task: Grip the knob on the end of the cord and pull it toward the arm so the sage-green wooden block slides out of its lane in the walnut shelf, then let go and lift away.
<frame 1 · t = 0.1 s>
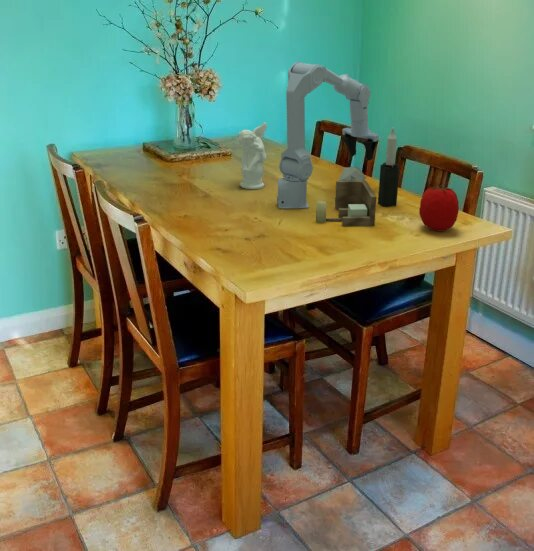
hand: (361, 157, 239), 11 cm above the table, tool pointing down, fingers open, 7 cm apart
cherub figurine: (250, 185, 245), on the table
black and grey rod: (387, 205, 225), on the table
pull block: (356, 221, 210), on the table
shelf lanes: (351, 216, 213), on the table
red apple: (437, 229, 203), on the table
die: (351, 190, 240), on the table
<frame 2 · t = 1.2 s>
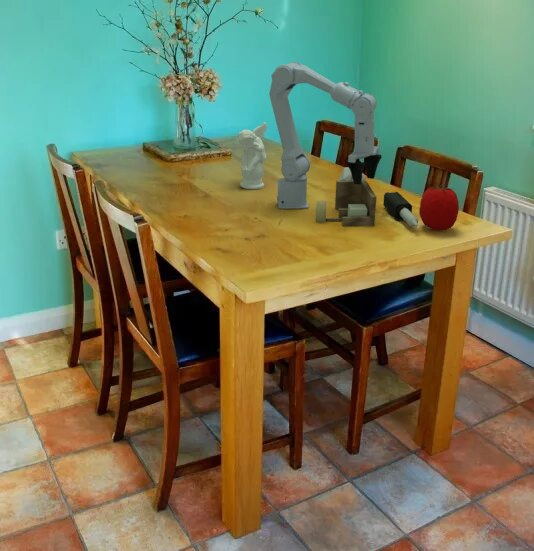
hand: (364, 181, 211), 11 cm above the table, tool pointing down, fingers open, 7 cm apart
black and grey rod: (391, 199, 221), point 3 cm above the table
everything else where it was.
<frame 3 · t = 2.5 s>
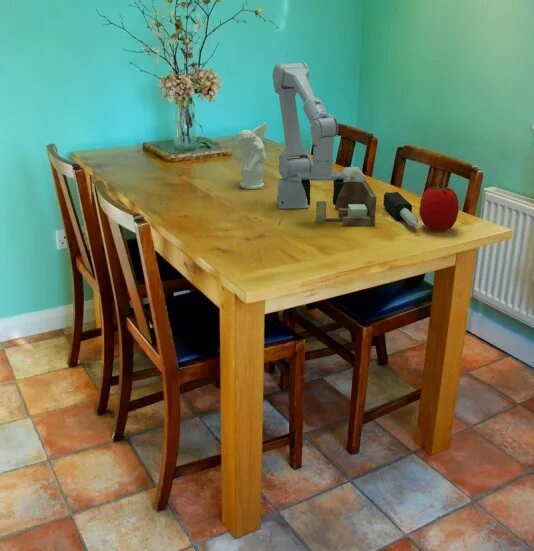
hand: (321, 204, 207), 5 cm above the table, tool pointing down, fingers open, 7 cm apart
nothing on the table moved.
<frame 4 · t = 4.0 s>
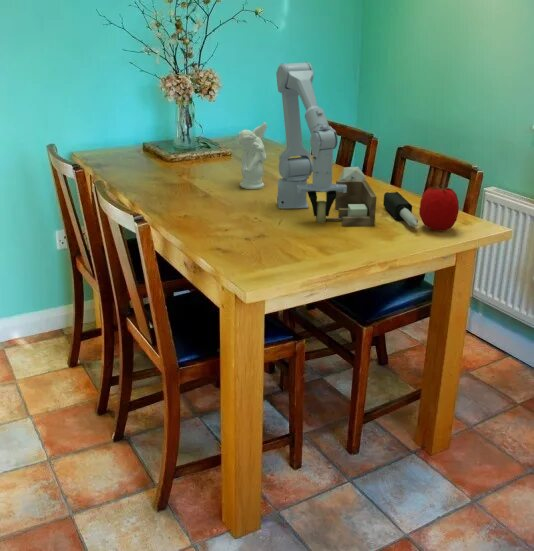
hand: (320, 215, 208), 2 cm above the table, tool pointing down, fingers closed on pull block, 3 cm apart
pull block: (356, 220, 210), on the table, touching gripper
everything else where it was.
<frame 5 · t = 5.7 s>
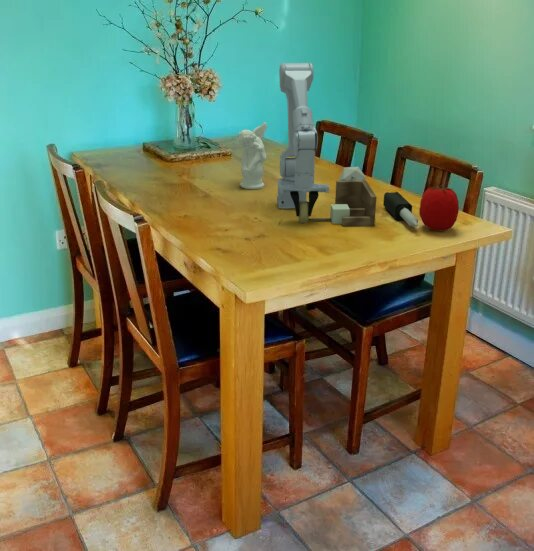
hand: (303, 215, 208), 2 cm above the table, tool pointing down, fingers closed on pull block, 3 cm apart
pull block: (339, 221, 209), on the table, touching gripper
everything else where it was.
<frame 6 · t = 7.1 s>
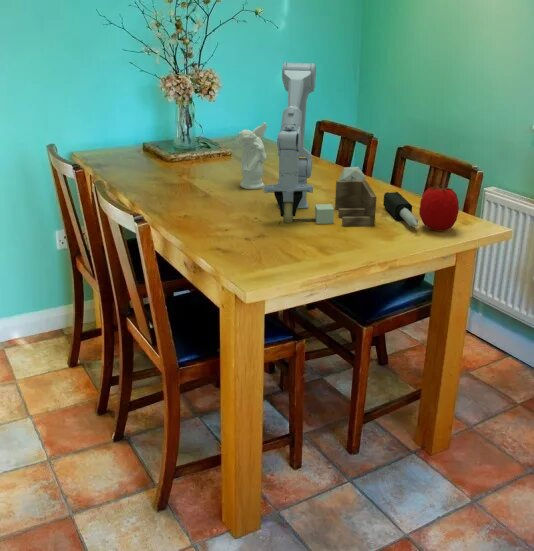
hand: (287, 215, 208), 2 cm above the table, tool pointing down, fingers closed on pull block, 3 cm apart
pull block: (324, 221, 209), on the table, touching gripper
everything else where it was.
when the fingers open (2 cm above the table, at t = 7.7 s): pull block stays where it is, on the table.
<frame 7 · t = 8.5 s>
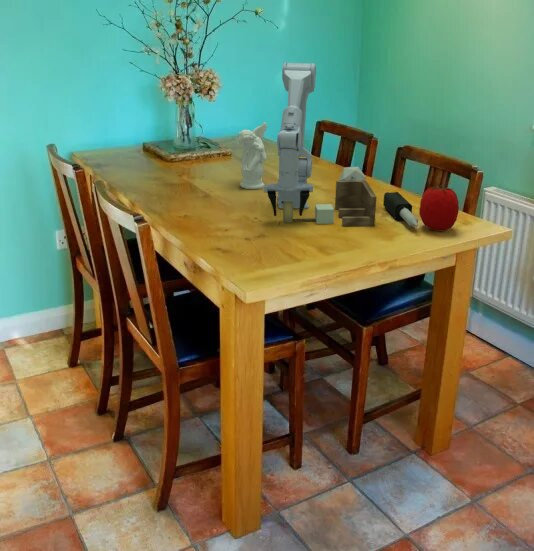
hand: (287, 214, 208), 2 cm above the table, tool pointing down, fingers open, 7 cm apart
pull block: (324, 221, 209), on the table
everything else where it was.
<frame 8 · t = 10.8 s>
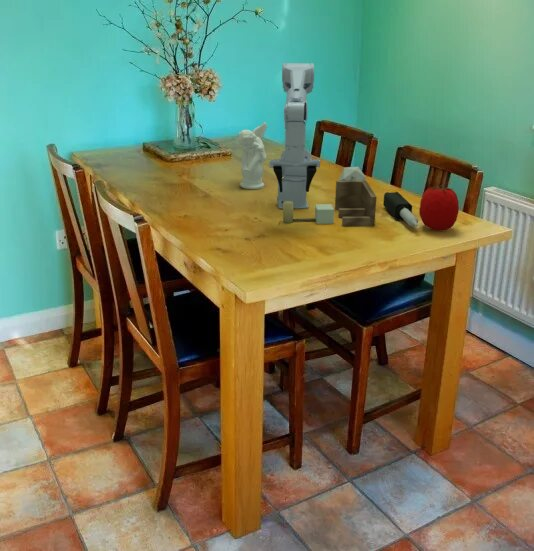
hand: (294, 191, 202), 10 cm above the table, tool pointing down, fingers open, 7 cm apart
nothing on the table moved.
at the end: pull block inside the target area (3.3 cm from its centre), on the table; pull block tilted 0°; the gripper is holding nothing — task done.
